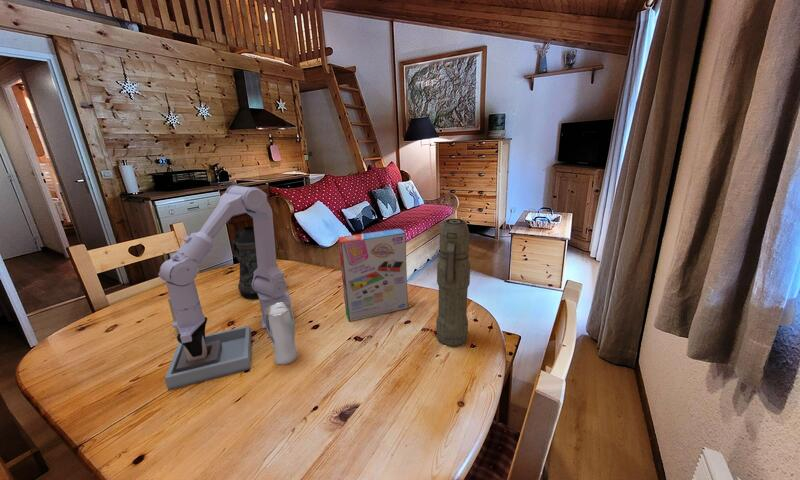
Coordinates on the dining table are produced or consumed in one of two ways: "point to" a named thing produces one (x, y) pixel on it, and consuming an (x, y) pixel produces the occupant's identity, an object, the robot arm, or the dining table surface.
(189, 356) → the plug
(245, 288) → the beer stein
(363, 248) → the game box
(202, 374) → the inlet box
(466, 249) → the thermos
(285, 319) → the beer glass
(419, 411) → the dining table surface
